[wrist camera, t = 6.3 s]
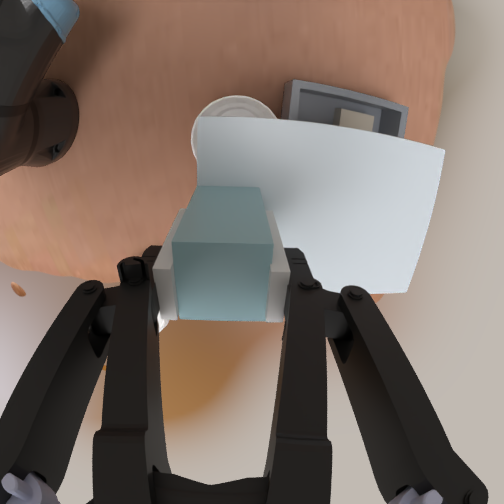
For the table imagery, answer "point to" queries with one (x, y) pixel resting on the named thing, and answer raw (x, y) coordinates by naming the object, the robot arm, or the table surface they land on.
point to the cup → (231, 112)
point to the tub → (342, 108)
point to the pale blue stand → (299, 211)
